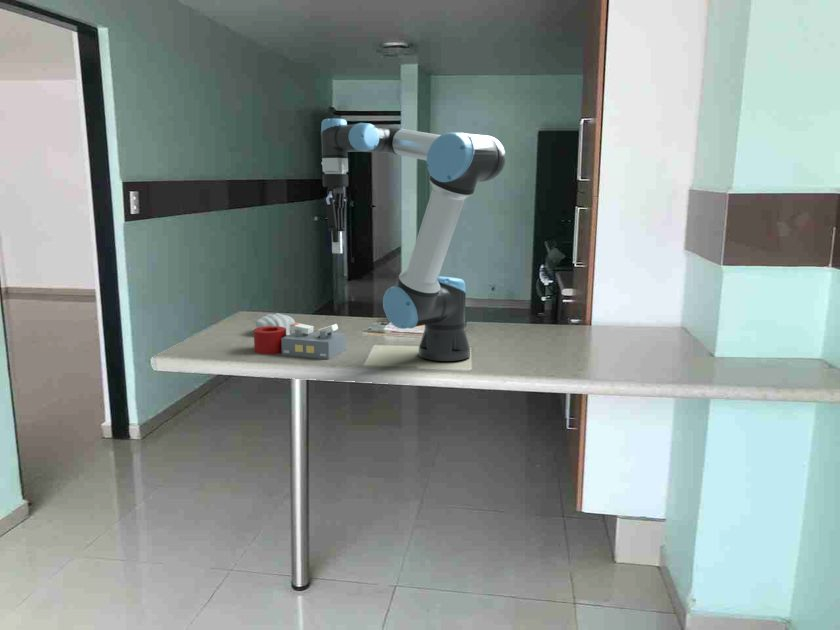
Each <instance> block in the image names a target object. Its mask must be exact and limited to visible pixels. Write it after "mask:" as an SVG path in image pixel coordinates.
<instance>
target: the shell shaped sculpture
mask: <svg viewBox="0 0 840 630" xmlns="http://www.w3.org/2000/svg"><path fill="white" fill-rule="evenodd" d="M295 322H296V321H295V319H294V318H293V317H291V316H289V315H287V314H282V313H279V312H277V313H274V314H271V313H267V314H266V315H264V316H261V317H260V318H258V319H257V320H256V321H255V326H256V328H259V327H267V326H279V327H284V328H286V335H290V334H291V332H292V331H291V330H290V325H291V324H293V323H295Z"/></svg>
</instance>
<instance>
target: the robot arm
mask: <svg viewBox="0 0 840 630" xmlns="http://www.w3.org/2000/svg"><path fill="white" fill-rule="evenodd" d="M320 126H321V128H320V129H321V130H320V137H321V139H320V140H321V160H322V161H321V163H320V164H321V165H322V172H323V173H324V174H322V186H323V187H324V188H327V193H326V194H327V195H326V197H323V202H324V206H325V214H326V222H327V229H328V230H327V231H328V232H331V252H332V254H343V232H345V231H346V229H345V228H346V216H347V204H348V203H347V202H348V197H347V196H345V191H344V188H346V187H348V186H349V175H348V174H347V173H349V158H348V157H349V155H348V152H349V153H350V152H351V153H352V152H359V153H360V152H364V153H384V154H392V155H396V156H404V157H407V158H411V159H412V158H413V159H417V160H422V161H425V162H426V165H427V171H428V173H429V175H430V176H429V179H428V180H429V183H430V185H431V186H432V187H431V188H432V190H431V193H430V196H429V199H428V203H427V205H426V208H425V212H424V215H423V218H422V221H421V225H420V228H419V231H418V234H417V237H416V240H415V243H414V247H413V250H412V253H411V256H410V259H409V262H408V265H407V269H406V270H403V271H402V272H400V274H399V275H398V279H397V282H396V284H395V286H390V287H389V288H387V289H386V290H385V292H384V295H383V298H382V308H383V311H384V314H385V316H386V318H387V320H388V321H389V323H391V324H392V325H393V326H394V327H395V328H398V329H400V330H401V329H405V330H406V329H413V328H416V327H421V326H424V330H423V334H422V336H421V339H420V343H419V345H418V356H419V357H420V358H423V359H425V360H429V361H439V362H456V361H461V360H465V359H468V358H470V357H471V346H470V343H469V340H468V339H469V338H468V336H467V333H466V325H465V324H466V301H467V300H466V295H467V291H466V282H465V281H464V279H462V278H458V277H451V276H450V277H449V276H441V275H440V274H441V270H442V267H443V264H444V261H445V259H446V255H447V252H448V250H449V248H450V244H451V241H452V238H453V235H454V232H455V230H456V226H457V224H458V221H459V218H460V214H461V212H462V210H463V209H462V208H463V206H464V203H465V200H466V199H467V198H469V197H472V196H473V195H474V193H475V190H476V187H477V184H478V182H480V183H481V182H482V183H483V182H488V181H491V180H494V179H495V178H496V177H498V176H499V175H500V174H501V173H502V171H503V170H504V168H505V165H506V163H507V162H506V160H507V155H506V150H505V147H504V146H503V144H502V143H501V142H500V141H499V140H498V139H497V138H496V137H494V136H492V135H487V134H477V133H476V134H475V133H467V132H462V131H454V132H446V133H443V134H435V133H432V132H431V133H430V132H424V131H423V132H422V131H417V130H411V129H407V128H406V129H405V128H402V127H398V126H382V125H381V126H380V125H374V124H373V123H367V122H358V123H352V124H348V122H347V120H346V119H345V118H325V119H323V120H322V121H321V125H320Z"/></svg>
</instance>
